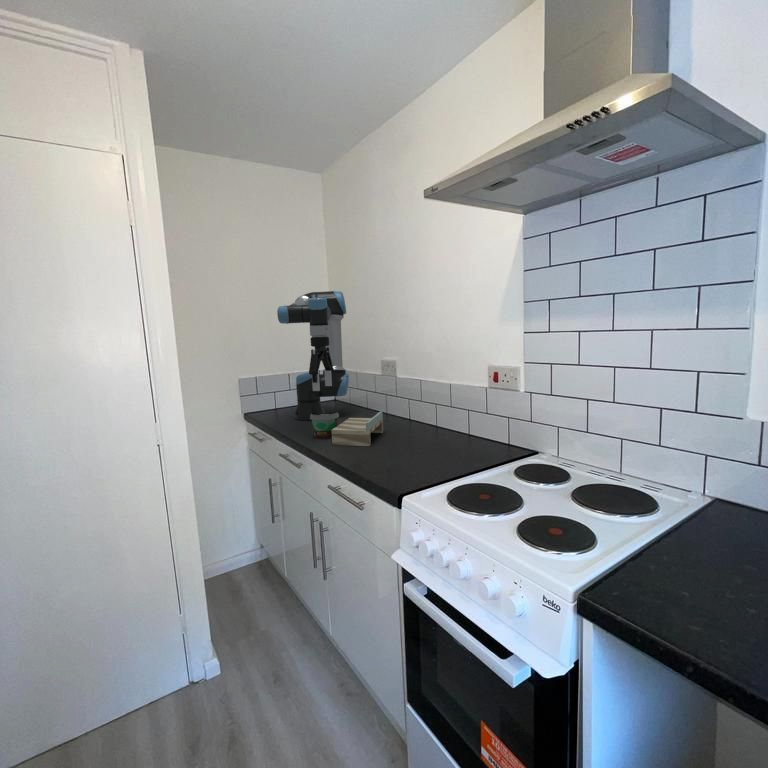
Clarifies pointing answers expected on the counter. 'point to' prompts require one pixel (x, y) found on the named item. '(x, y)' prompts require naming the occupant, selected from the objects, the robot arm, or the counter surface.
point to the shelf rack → (357, 431)
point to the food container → (324, 424)
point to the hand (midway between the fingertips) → (322, 388)
